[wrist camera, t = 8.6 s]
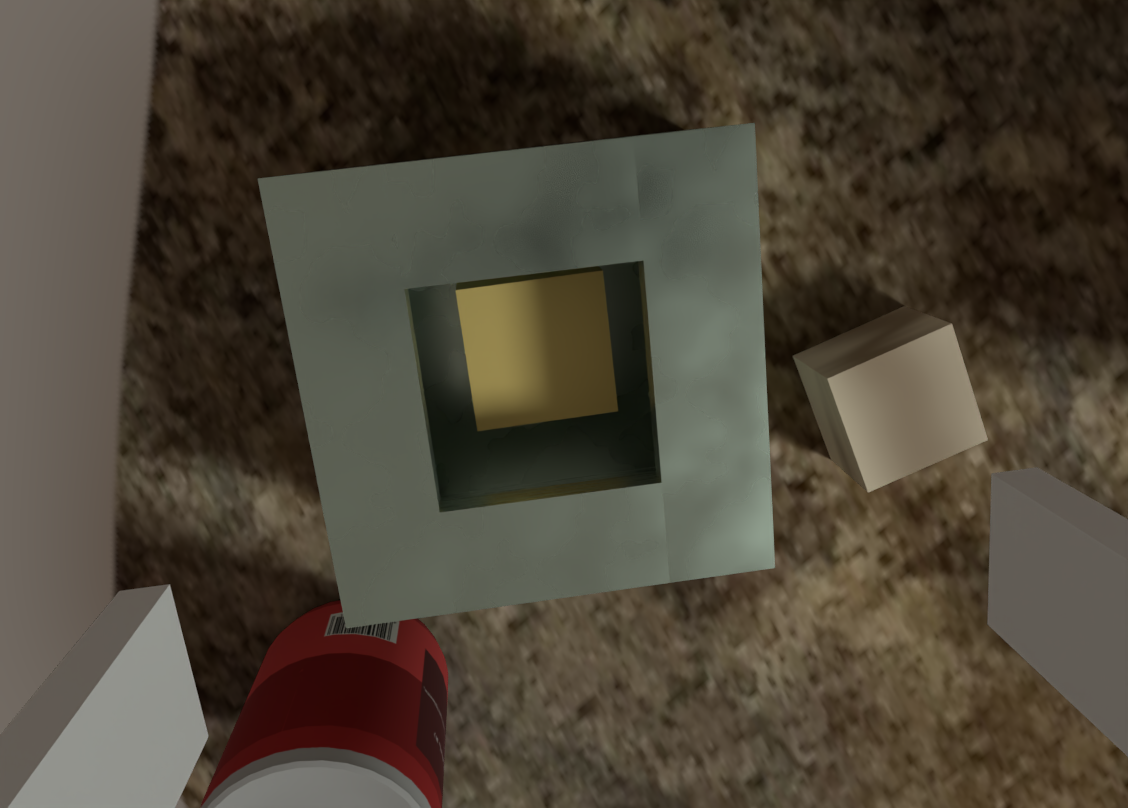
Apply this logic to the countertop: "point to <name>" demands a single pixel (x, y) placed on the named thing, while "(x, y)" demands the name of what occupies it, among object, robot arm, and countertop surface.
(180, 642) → the robot arm
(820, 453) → the countertop surface
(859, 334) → the block
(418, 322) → the box
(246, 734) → the canned food
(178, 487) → the countertop surface
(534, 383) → the block
